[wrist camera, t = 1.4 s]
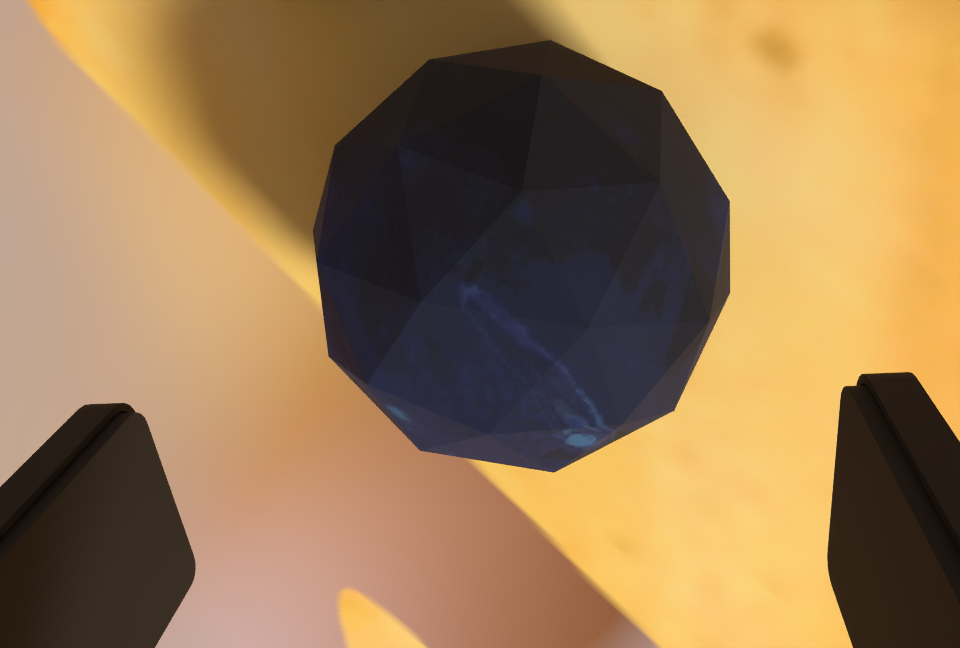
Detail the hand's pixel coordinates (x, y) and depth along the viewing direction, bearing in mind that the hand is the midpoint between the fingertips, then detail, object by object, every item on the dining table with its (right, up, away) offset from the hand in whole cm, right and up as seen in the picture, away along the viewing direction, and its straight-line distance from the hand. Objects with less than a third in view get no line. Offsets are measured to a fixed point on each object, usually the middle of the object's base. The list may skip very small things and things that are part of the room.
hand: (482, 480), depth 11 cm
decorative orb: (+2, +8, +25) cm, 26 cm away
